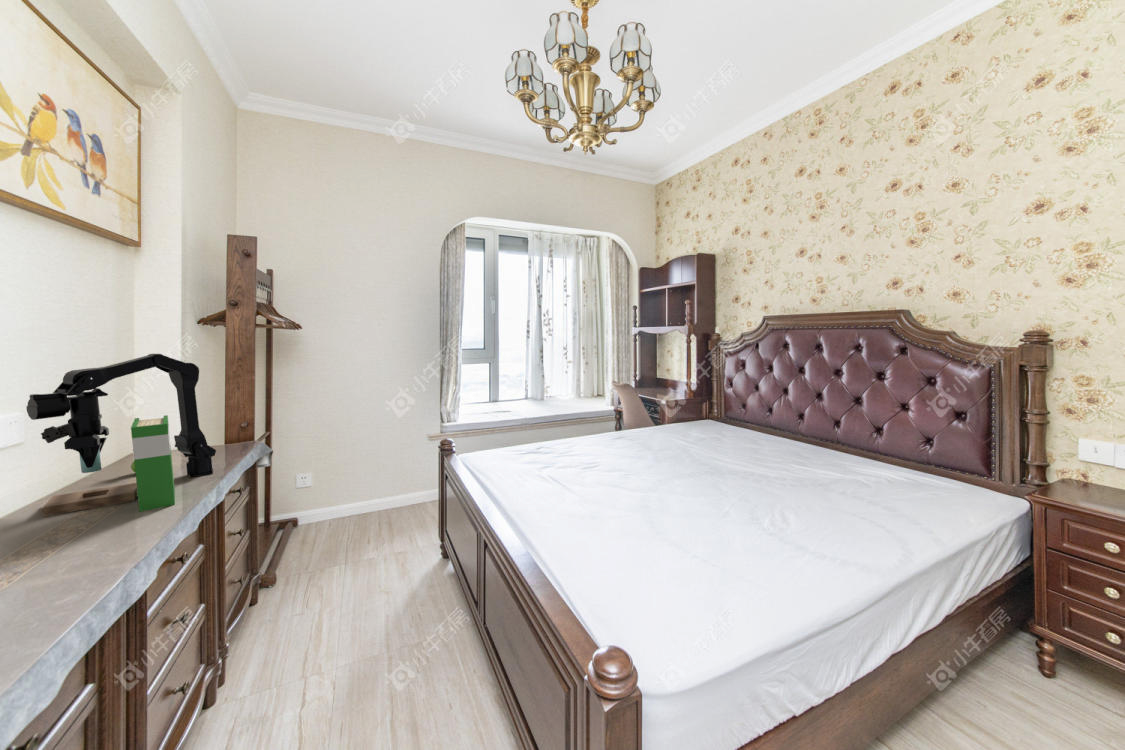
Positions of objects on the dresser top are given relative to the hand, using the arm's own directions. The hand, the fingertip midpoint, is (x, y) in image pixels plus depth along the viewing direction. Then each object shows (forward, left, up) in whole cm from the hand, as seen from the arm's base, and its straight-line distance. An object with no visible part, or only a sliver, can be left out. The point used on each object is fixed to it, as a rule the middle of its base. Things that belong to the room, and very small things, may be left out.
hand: (91, 465), depth 127 cm
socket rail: (0, 0, -11) cm, 11 cm away
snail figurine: (-8, -28, -11) cm, 31 cm away
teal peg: (0, 0, -2) cm, 2 cm away
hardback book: (-14, +9, -11) cm, 20 cm away
